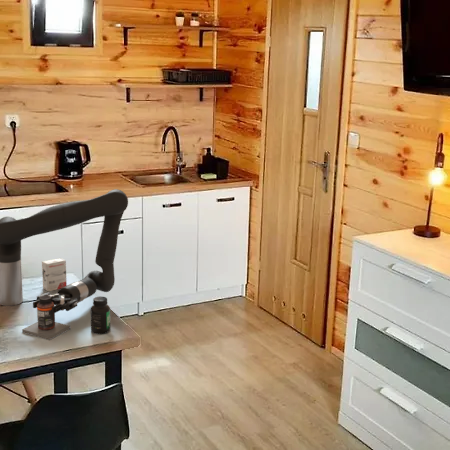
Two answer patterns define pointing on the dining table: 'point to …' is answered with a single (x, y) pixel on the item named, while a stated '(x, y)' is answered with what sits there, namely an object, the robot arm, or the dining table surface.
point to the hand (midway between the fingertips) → (43, 307)
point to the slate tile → (46, 334)
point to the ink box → (54, 274)
